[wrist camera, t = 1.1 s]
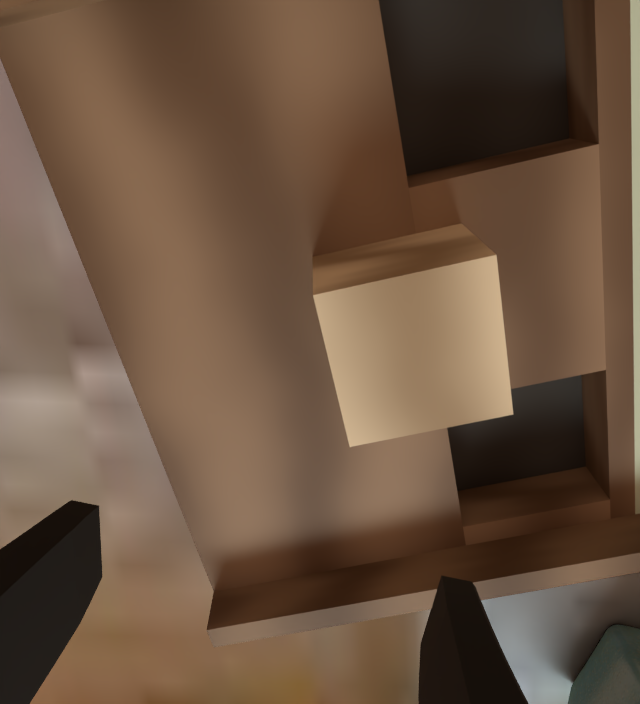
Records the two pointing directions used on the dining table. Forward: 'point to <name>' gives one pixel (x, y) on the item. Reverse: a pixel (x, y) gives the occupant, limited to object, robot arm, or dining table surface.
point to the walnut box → (344, 233)
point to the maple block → (414, 333)
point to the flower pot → (611, 670)
